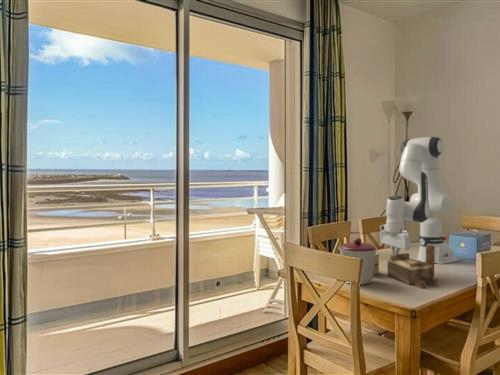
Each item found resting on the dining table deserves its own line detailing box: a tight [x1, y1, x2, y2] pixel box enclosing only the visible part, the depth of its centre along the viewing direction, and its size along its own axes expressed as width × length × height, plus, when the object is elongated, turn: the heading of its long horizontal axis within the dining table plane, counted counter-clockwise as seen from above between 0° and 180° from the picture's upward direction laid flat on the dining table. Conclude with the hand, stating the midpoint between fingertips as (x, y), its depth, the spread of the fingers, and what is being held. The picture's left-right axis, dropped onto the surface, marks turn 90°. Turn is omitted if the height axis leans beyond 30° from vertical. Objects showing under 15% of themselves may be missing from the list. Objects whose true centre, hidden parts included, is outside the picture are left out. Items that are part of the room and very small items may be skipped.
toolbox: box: [387, 261, 439, 289], centre depth 196 cm, size 12×22×7 cm, turn 18°
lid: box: [387, 252, 433, 270], centre depth 197 cm, size 12×18×4 cm
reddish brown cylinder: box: [426, 245, 435, 279], centre depth 198 cm, size 4×4×16 cm
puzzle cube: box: [373, 253, 380, 276], centre depth 211 cm, size 10×10×10 cm
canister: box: [337, 237, 378, 286], centre depth 195 cm, size 18×18×21 cm
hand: (395, 255), depth 207 cm, fingers closed
